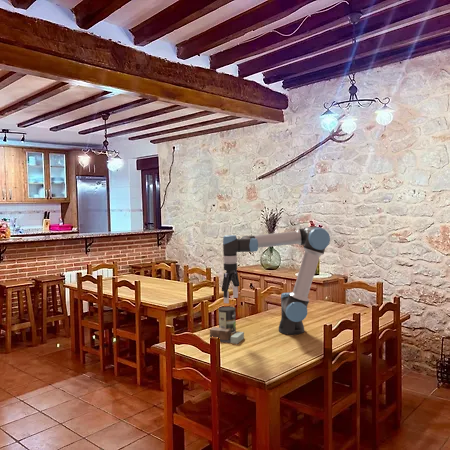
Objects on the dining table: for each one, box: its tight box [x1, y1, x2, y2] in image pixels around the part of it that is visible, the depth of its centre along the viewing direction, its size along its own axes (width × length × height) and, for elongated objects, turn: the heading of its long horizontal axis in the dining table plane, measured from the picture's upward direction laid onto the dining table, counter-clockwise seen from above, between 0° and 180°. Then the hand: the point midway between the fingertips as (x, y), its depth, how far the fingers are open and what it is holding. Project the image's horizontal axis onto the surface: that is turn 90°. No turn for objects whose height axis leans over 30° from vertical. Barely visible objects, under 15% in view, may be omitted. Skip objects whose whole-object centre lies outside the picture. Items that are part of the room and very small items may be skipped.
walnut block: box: [209, 326, 232, 340], centre depth 248 cm, size 5×5×11 cm
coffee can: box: [218, 305, 237, 335], centre depth 261 cm, size 10×10×14 cm
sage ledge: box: [230, 331, 245, 345], centre depth 244 cm, size 4×10×4 cm, turn 157°
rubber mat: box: [220, 338, 231, 344], centre depth 247 cm, size 11×10×1 cm
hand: (231, 300), depth 244 cm, fingers open, 13 cm apart
